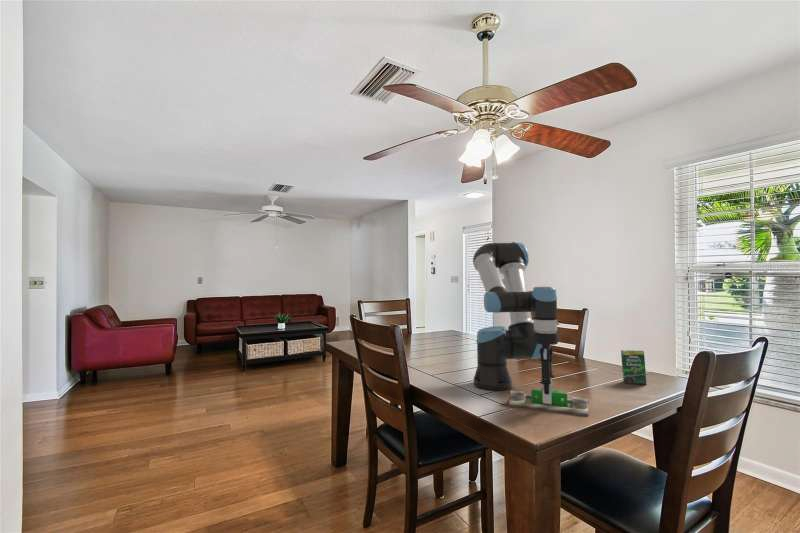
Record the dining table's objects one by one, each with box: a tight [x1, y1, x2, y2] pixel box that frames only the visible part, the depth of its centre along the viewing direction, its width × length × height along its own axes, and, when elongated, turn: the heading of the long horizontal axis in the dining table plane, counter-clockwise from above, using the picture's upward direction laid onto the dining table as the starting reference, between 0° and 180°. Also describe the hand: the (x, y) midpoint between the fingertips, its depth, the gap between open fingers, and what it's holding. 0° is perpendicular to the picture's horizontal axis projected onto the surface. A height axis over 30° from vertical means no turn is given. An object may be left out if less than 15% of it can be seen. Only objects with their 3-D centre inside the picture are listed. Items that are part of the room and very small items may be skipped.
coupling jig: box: [508, 390, 590, 417], centre depth 124 cm, size 25×10×4 cm, turn 65°
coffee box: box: [620, 349, 647, 385], centre depth 148 cm, size 8×3×13 cm, turn 63°
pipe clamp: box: [530, 387, 569, 408], centre depth 123 cm, size 11×4×5 cm, turn 65°
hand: (547, 400), depth 124 cm, fingers open, 6 cm apart
